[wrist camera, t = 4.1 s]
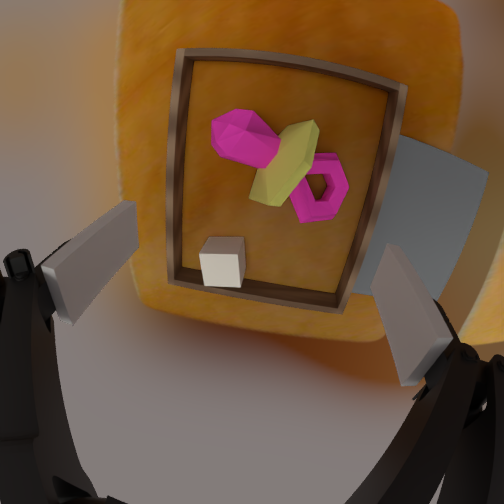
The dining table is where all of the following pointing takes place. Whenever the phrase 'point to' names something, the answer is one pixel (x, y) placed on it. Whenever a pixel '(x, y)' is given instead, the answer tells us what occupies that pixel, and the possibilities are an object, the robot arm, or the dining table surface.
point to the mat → (425, 213)
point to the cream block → (223, 261)
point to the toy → (281, 162)
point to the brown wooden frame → (371, 206)
